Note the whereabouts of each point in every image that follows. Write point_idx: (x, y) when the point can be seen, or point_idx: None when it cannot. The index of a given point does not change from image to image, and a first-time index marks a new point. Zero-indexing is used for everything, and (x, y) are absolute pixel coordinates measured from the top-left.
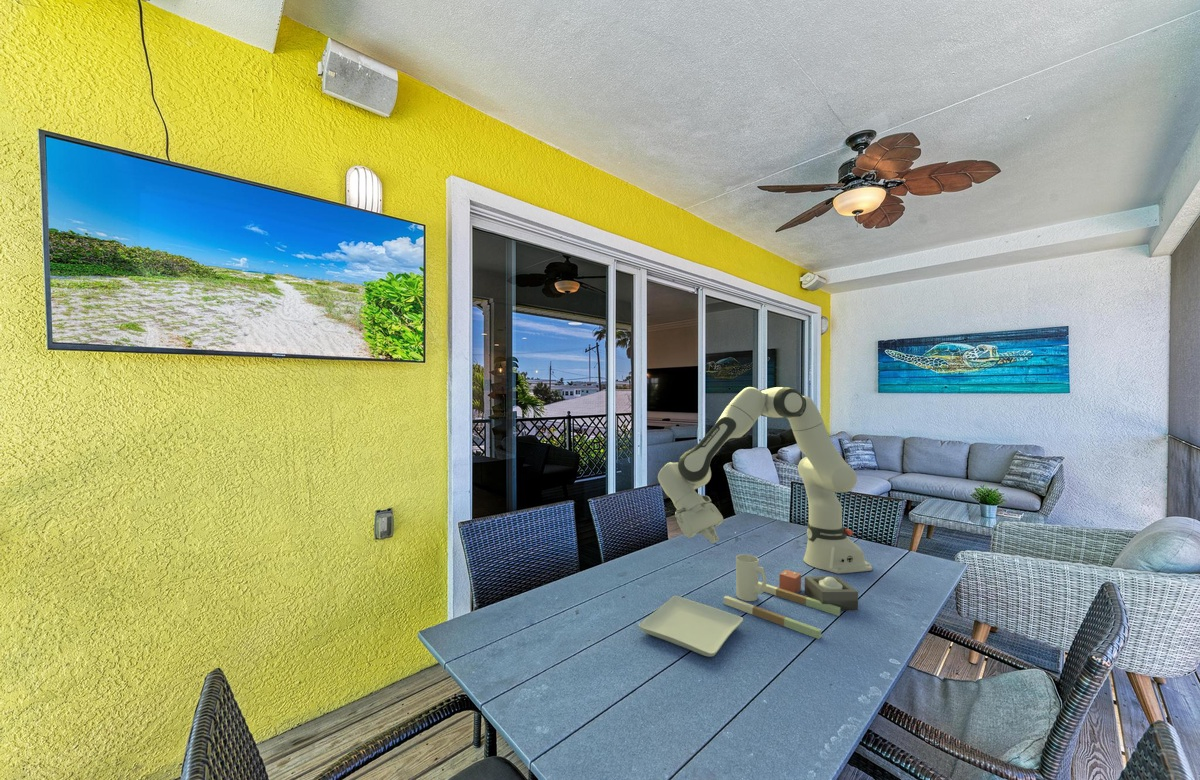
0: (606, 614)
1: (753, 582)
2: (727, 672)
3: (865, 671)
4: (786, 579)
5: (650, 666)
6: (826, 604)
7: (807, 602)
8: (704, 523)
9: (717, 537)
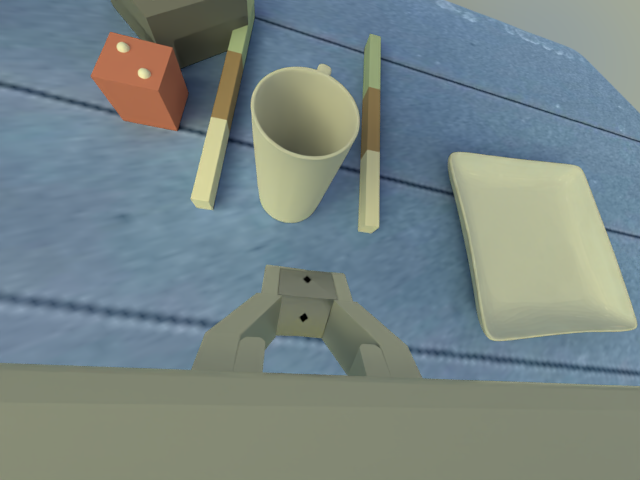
0: None
1: (316, 141)
2: (554, 155)
3: (413, 6)
4: (169, 81)
5: (633, 253)
6: None
7: (243, 59)
8: (460, 459)
9: (279, 273)
